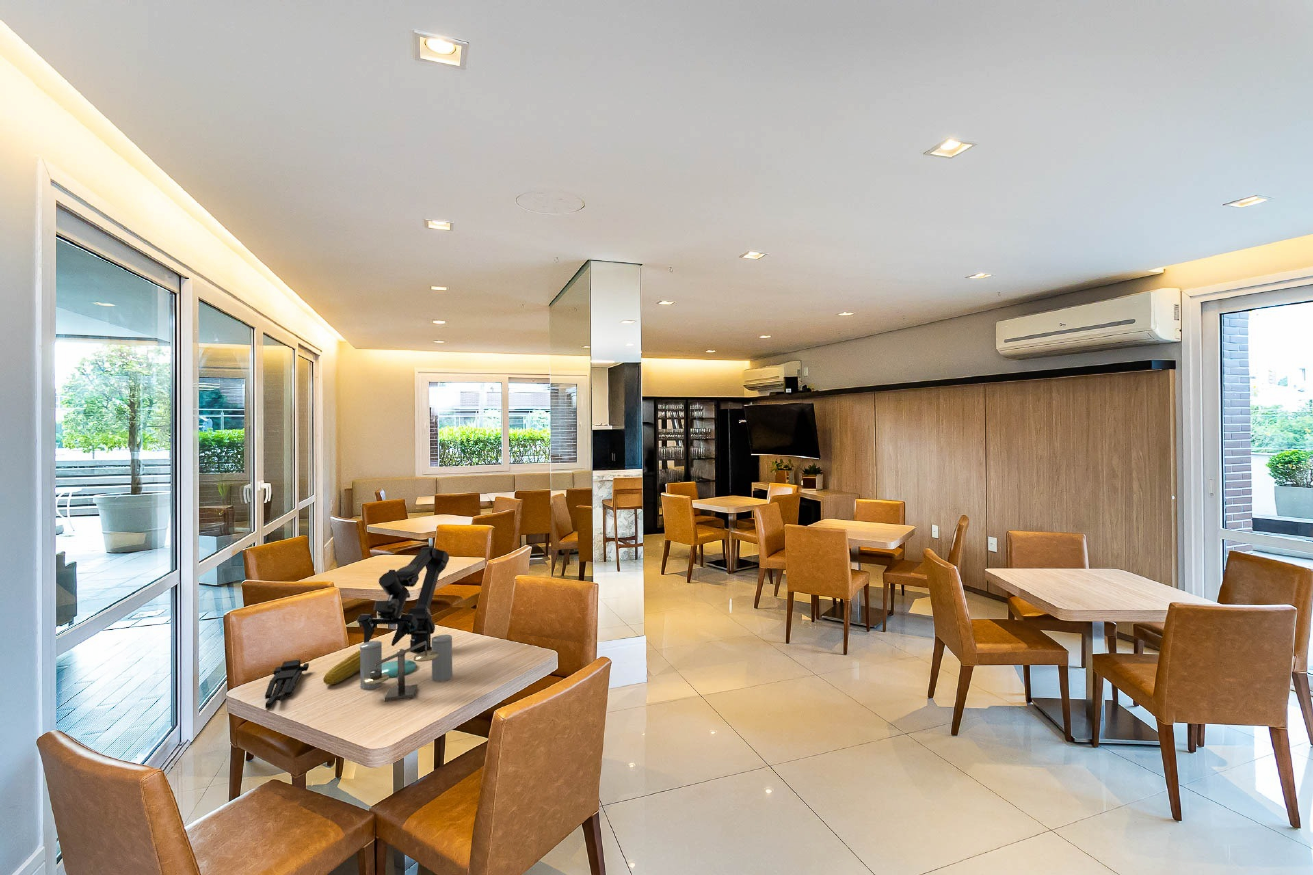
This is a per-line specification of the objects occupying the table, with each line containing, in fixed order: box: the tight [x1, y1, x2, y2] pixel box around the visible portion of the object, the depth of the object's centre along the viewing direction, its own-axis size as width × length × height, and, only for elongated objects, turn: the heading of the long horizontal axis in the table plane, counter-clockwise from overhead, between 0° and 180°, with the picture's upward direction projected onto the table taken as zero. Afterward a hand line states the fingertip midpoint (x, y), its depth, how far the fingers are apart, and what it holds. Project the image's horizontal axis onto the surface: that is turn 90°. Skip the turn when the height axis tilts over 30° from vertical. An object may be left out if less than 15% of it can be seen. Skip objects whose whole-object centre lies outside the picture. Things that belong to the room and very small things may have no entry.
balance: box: [363, 641, 438, 703], centre depth 179 cm, size 21×8×15 cm, turn 104°
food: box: [322, 650, 360, 686], centre depth 195 cm, size 21×6×6 cm, turn 176°
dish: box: [382, 659, 417, 679], centre depth 199 cm, size 13×13×1 cm
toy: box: [264, 659, 310, 709], centre depth 184 cm, size 10×5×30 cm
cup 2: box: [431, 634, 453, 683], centre depth 192 cm, size 6×6×13 cm
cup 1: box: [359, 640, 383, 690], centre depth 187 cm, size 6×6×13 cm
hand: (378, 645), depth 191 cm, fingers open, 9 cm apart
